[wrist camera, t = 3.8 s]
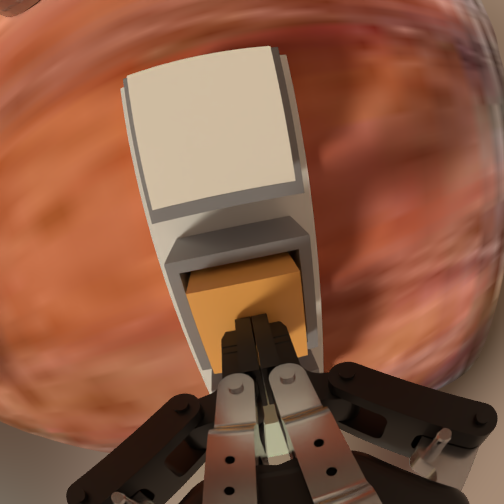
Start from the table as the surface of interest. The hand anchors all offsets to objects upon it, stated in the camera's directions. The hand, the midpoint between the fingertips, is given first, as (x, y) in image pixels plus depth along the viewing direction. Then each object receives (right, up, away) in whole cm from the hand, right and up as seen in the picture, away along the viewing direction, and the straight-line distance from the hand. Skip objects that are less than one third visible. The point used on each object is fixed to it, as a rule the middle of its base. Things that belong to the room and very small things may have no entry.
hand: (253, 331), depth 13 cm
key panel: (-1, +3, +6) cm, 7 cm away
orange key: (-1, +2, +5) cm, 5 cm away
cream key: (-2, +10, 0) cm, 10 cm away
